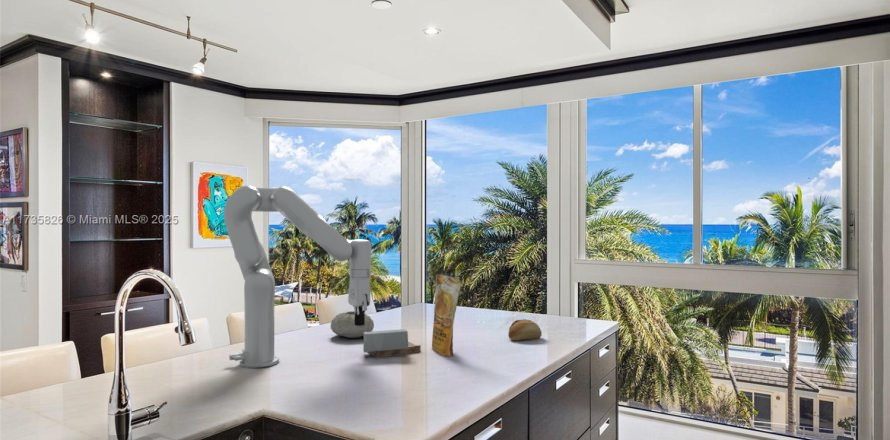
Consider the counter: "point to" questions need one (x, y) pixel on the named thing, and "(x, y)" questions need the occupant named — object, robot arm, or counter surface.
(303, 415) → the counter surface
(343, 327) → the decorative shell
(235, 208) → the robot arm
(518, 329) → the bread roll
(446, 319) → the pancake mix bag
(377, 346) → the skincare box
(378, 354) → the light brown wooden tray
